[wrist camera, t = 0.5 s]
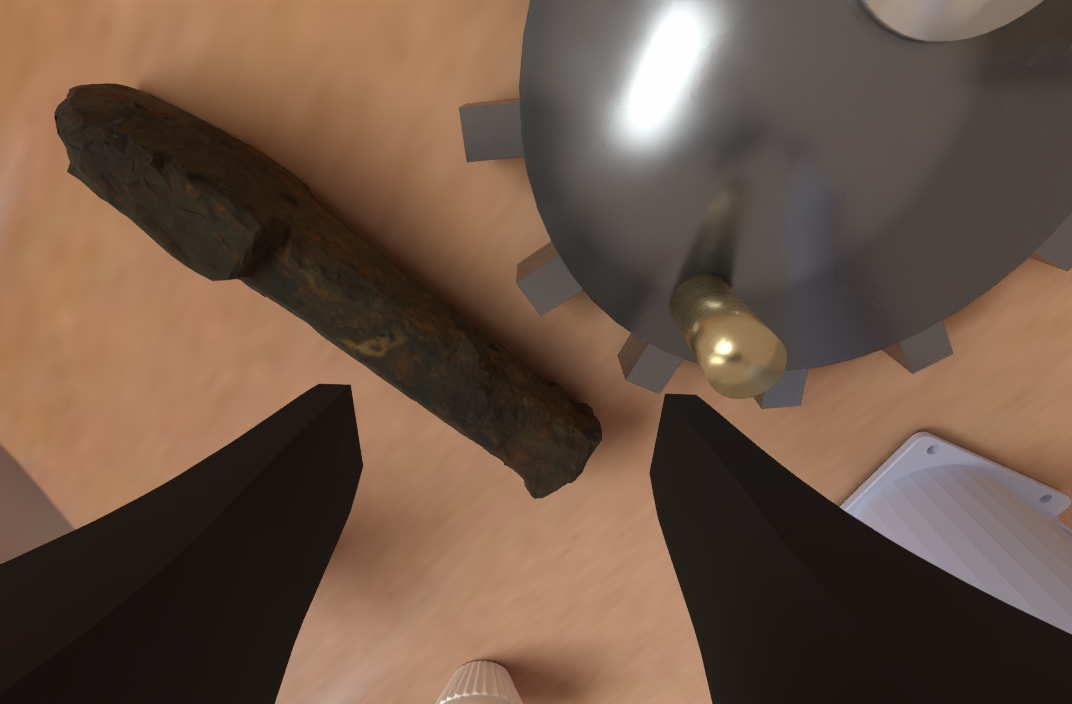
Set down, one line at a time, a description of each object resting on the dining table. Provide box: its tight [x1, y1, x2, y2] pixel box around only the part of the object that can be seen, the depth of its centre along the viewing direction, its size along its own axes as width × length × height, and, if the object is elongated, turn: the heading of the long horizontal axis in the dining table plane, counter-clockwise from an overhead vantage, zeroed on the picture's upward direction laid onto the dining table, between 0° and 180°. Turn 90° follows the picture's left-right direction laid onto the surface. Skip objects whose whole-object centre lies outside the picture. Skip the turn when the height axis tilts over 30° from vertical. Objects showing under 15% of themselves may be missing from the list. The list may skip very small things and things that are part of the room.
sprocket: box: [459, 0, 1072, 409], centre depth 13 cm, size 20×20×6 cm
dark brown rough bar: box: [54, 84, 602, 499], centre depth 17 cm, size 19×4×5 cm, turn 44°
